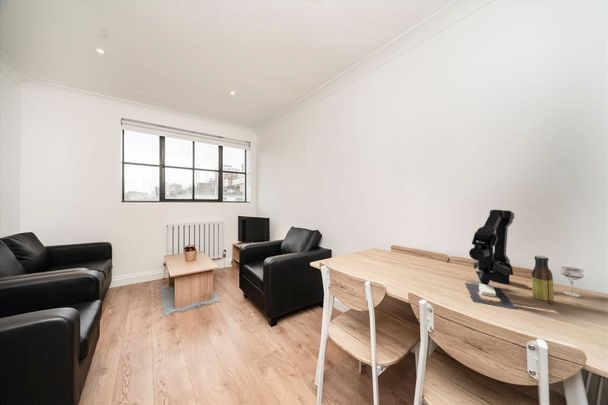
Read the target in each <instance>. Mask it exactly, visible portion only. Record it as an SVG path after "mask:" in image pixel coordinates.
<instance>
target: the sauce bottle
mask: <svg viewBox="0 0 608 405" xmlns="http://www.w3.org/2000/svg"><path fill="white" fill-rule="evenodd" d="M534 262H535V264H534V265H535V266H534V268H533V270H532V272H531V287H532V297H533V298H534V299H535V300H538V301H541V302H542V301H543V302H545V303H547V304H548V305H549V304H551V305H552V304H553V303H554V302H555V301H554V300H555V298H554V296H555V295H554V280H553V278H554V277H553V273H552V270H550V268H549V257H548V256H543V255H534Z"/></svg>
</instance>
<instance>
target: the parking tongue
mask: <svg viewBox="0 0 608 405" xmlns="http://www.w3.org/2000/svg"><path fill="white" fill-rule="evenodd" d="M469 282H470V284H477V285H479V284H481V282H480V280H473V279H472V280H471V279H469ZM488 285H491V284H490V283H489V284H488Z"/></svg>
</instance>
